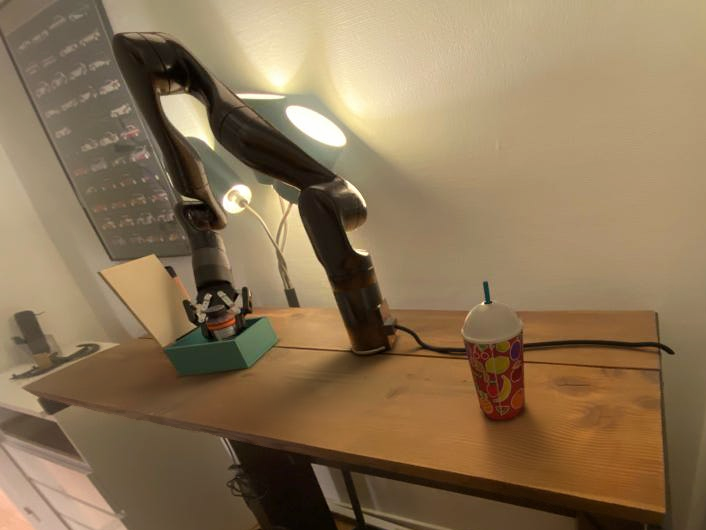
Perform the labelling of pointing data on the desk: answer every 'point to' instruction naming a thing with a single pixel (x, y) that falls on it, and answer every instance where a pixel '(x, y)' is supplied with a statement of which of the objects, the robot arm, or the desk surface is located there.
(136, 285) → the lid
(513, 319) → the smoothie
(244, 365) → the teal open box
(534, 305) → the desk surface
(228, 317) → the supplement bottle
